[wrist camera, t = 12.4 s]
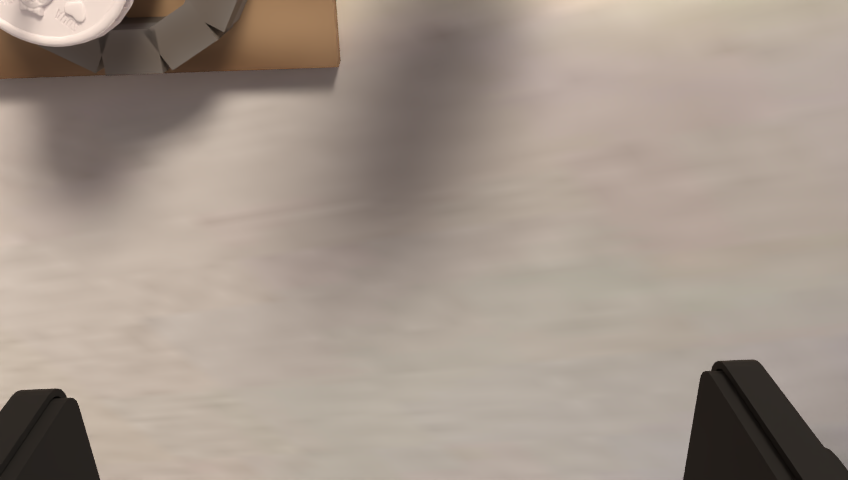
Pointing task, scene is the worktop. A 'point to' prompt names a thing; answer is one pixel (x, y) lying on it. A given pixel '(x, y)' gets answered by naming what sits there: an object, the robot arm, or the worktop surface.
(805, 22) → the worktop surface
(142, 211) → the worktop surface
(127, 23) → the block
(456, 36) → the worktop surface
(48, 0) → the smoothie
